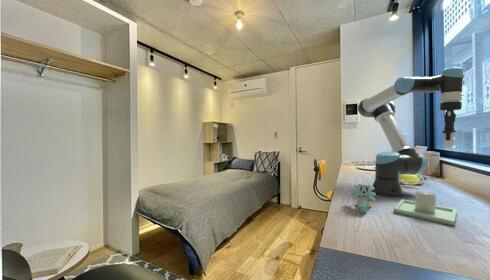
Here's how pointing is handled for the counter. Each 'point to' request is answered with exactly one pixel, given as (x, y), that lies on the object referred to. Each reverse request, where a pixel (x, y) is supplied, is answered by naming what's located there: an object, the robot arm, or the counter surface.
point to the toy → (364, 196)
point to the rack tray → (440, 215)
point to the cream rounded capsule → (425, 202)
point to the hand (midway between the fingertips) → (448, 146)
